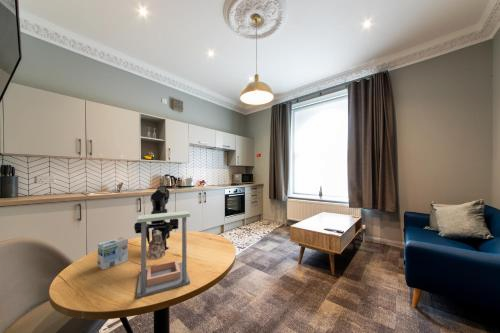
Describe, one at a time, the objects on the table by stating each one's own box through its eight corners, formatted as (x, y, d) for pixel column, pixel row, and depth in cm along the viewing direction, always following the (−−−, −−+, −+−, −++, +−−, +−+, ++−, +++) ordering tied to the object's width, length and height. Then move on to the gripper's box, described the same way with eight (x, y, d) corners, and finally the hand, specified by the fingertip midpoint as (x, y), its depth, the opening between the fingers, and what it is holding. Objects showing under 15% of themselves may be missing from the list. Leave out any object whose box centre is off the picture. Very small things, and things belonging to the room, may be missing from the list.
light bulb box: (102, 270, 84) (103, 246, 85) (96, 266, 88) (97, 243, 88) (128, 260, 94) (128, 239, 94) (121, 257, 97) (122, 236, 98)
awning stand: (139, 274, 81) (140, 210, 82) (183, 264, 89) (183, 206, 90) (136, 298, 65) (137, 219, 66) (190, 283, 73) (190, 213, 74)
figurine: (150, 261, 80) (150, 233, 80) (145, 256, 85) (145, 230, 85) (167, 256, 85) (167, 229, 86) (161, 251, 90) (161, 226, 91)
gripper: (135, 205, 86) (129, 236, 76) (178, 202, 93) (178, 231, 82) (138, 218, 93) (133, 249, 83) (178, 214, 100) (178, 242, 90)
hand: (156, 242), depth 84 cm, fingers closed on figurine, 6 cm apart
